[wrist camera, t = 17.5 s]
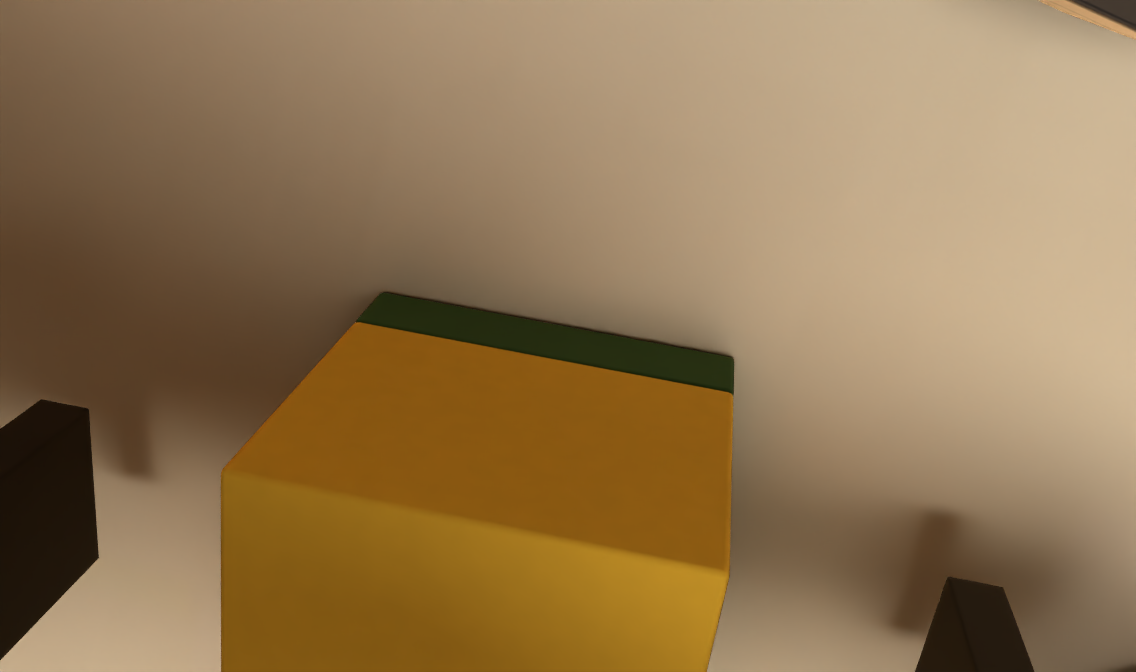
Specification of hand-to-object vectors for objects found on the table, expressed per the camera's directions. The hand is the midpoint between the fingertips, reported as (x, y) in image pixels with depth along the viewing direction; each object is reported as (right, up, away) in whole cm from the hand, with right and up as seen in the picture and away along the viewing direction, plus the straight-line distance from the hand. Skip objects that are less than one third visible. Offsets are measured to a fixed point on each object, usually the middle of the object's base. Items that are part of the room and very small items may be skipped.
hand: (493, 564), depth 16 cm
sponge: (0, 0, +2) cm, 2 cm away
